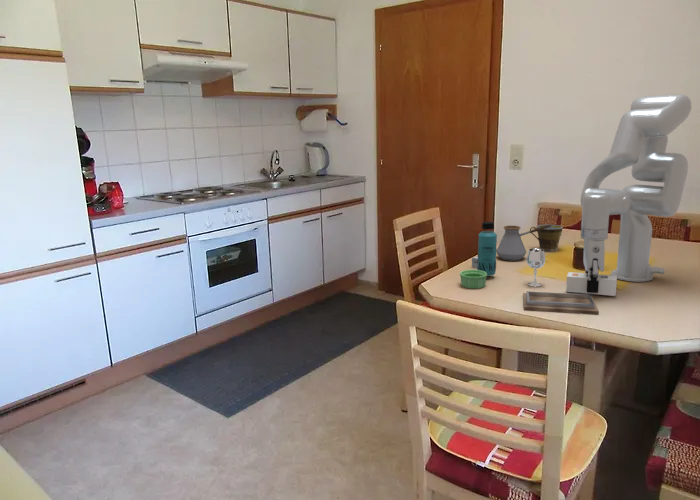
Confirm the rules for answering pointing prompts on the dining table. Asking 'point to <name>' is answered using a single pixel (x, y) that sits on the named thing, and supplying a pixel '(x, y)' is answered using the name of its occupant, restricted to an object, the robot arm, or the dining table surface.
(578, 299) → the board
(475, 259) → the usb wall charger
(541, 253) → the wineglass
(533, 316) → the dining table surface
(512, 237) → the coffee pot
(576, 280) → the power strip
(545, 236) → the ceramic cup
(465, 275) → the ramekin
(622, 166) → the robot arm
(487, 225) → the beverage bottle
